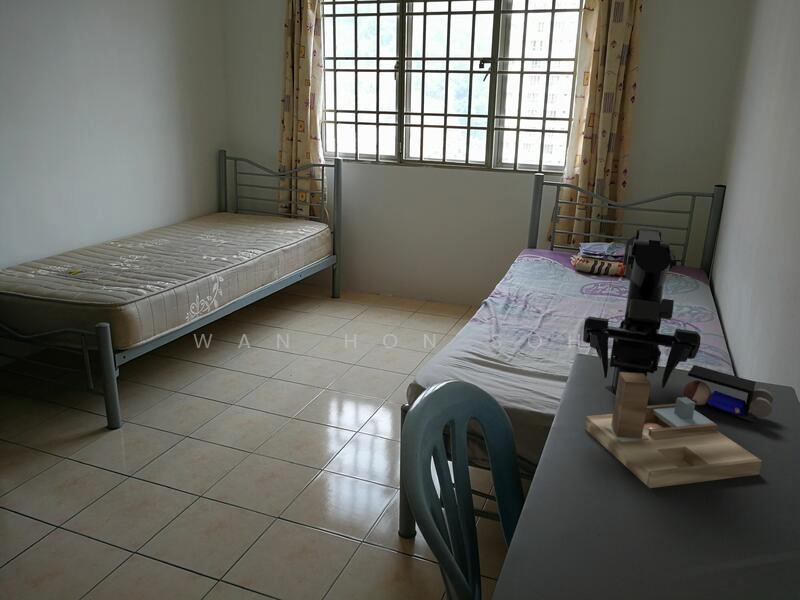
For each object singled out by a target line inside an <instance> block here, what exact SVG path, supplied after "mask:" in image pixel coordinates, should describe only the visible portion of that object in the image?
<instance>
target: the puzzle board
mask: <svg viewBox="0 0 800 600" xmlns="http://www.w3.org/2000/svg"><path fill="white" fill-rule="evenodd" d="M675 405H676V403H667V404H656V405H655V404H654V405H647V409H646V415H645V421H644V425H645V424H647V423H654V424H658V425H661V426H662V427H664V428H659V429H649V430H647V429H646V428H645V427H643V433H642V439H637V438H623V437H617V436H616V434H615V432H614V430H613V428H612V426H611V424H612V417H613V413H608V414H607V413H606V414H596V415H586V416H585V422H584V430H585V431H586V432H587V433H589V434H590V435H591V437H593V438H594V439H595V440H596V441H597V442H598V443H600V445H602V446H603V447H604V448H605V449H606V450H607V451H608V452H609V453H610V454H612V455H613V456H614V457H615V458H616V459H617V460H618V461H619V462H621V464H622V465H624V466H625V467H626V468H627V469H628V470H629V471H630V472H631V473H632V474H634V475H635V476H636V477H637V479H638V480H640V481H641V482H642V483H643V484H644V485H646V487H647V488H648V489H653V488H662V487H669V486H670V487H671V486H677V485H678V486H679V485H686V484H694V483H702V482H710V481H718V480H726V479H734V478H742V477H751V476H758V475H760V470H761V467H762V460H761V459H760V458H758V457H757V456H755V455H754V454H752V452H749V451H748V450H747V449H745V448H744V447H743V446H741V445H739V444H738V443H736V442H735V441H733V440H732V439H730V438H728V436H726V435H724V434H722V432H720V431H718V430H717V429H718V424H717V423H715V422H714V423H709V424H699V425H689V426H679V427H671V426H669V425H668V424H667V423H665V422H664V421H663V420H661V419H660V418H658V417H657V416H656V415H654V414H653V409H662V408H673V407H675Z"/></svg>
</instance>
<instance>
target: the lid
mask: <svg viewBox="0 0 800 600" xmlns="http://www.w3.org/2000/svg"><path fill="white" fill-rule="evenodd" d="M675 404H676V405H675V407H673V408H662V409H653V414H654V415H656V416H657V417H658V418H660V419H661V420H663V421H664V422H665V423H667V424H668V425H669V426H671V427H679V426H689V425H699V424H709V423H715V422H714V421H712V420H710V419H709V418H707V417H706V416H704V415H703V414H701V412H698V411H697V410H695V408H696V405H695V402H693V401H692V400H690V399H689V398H687V397H684V396H683V397H676V399H675Z"/></svg>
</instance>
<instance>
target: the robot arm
mask: <svg viewBox="0 0 800 600" xmlns="http://www.w3.org/2000/svg"><path fill="white" fill-rule="evenodd" d="M670 247H671V246H670V243H669V242H666V241H665V242H664V241H663V240H662V230H661V231H660V230H659V229H652V228H644V227H643V228H637V229H636V232H635V235H634V236H633V237H631V238H629V239H628V240H627V241H626V242H625V246H624V252H623V253H624V255H623V259H622V267H625V270H624V276H625V278H627V279H628V281H629V286H628V293H627V299H626V305H625V313H624V319H622V320H621V322H620V326H619V327H615V326H609V321H610V319H609V318H603V317H596V316H588V317H587V318H585V319H584V325H583V333H582V334H583V337H582V342H584V343H586V344H589V347H590V348H591V349H595V351H596V353H597V356H598V359H599V363H600V366H601V371H602V375H603V378H604V379H608V378H607V377H608V371H609V367H610V368H614V369H613V375H612V382H611V383H612V384H611V385H610V386H609V385H607V386H606V385H605V387H604V388H605V389H607V391H609V392H610V393H612V394H613V395H614V396H616V391H617V384H618V378H619V372H628V373H643V374H644V375H645V376H646V377H647V378H648V373H650V374H654V373H655V372H658V367H659V362H660V359H661V355H662V351H661V349H660V347H659V346H663V347H670V351H669V354H668V357H667V359H666V363H665V364H666V365H665V369H664V372H663V376H662V379H661V389H665V388H666V385H667V383H668V381H669V380H670V377H671V375H672V373H673V372H674V370H675V369H676V367H677V366H678V364H679V363H685V362H687V361H688V360H689V359H690V360H693V359H696V357H697V354H698V351H699V349H700V348H701V347H700V346H701V340H702V339H701V334H700V333H699V332H698V331H695V330H688V329H683V328H675V330H674V332H673V333H674V334H673V335H670V334H663V333H659V330H660V329H661V324H662V320H669V321H670V320H671V319H672V318H673V313H674V302H675V301H674V299H669V298H663V290H664V285H665V283H666V280H667V276H668V274H669V270H672V269H673V267H676V266H677V261H678V260H677V256H676V255H675V253H674V250H673V249H672V248H670ZM609 339H612V345H611V351H610V360H609ZM650 398H651V396H649V397H648V399H650Z"/></svg>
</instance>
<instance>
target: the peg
mask: <svg viewBox="0 0 800 600" xmlns="http://www.w3.org/2000/svg"><path fill="white" fill-rule="evenodd" d="M651 385H652V384H651V381H650V380H649V379H648V376H647V377H646V376H645V375H644V374H643V373H628V372H619V378H618V384H617V391H616V395H615V396H614V397H615V398H614V405H613V411H612V412H613V413H612V414H613V417H612V424H611V426H612V428H613V430H614V432H615V434H616V436H617V437H623V438H637V439H642V433H643V427H644V421H645V415H646V409H647V406H648V401H649V398H648V397H650V391H651Z"/></svg>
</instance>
